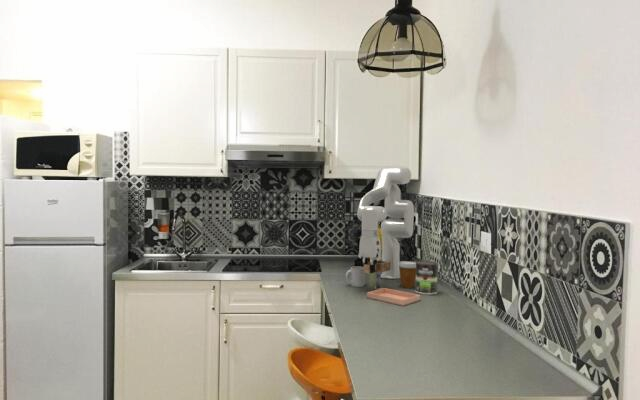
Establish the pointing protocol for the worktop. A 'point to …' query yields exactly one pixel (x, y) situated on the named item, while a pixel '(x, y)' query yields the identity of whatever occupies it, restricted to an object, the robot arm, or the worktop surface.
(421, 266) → the coffee can
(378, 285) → the grey piece
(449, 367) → the worktop surface
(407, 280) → the disposable coffee cup
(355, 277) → the cup
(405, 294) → the tray
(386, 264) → the brown square frame
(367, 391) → the worktop surface
